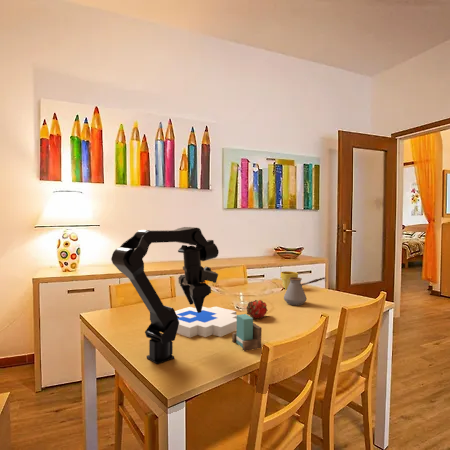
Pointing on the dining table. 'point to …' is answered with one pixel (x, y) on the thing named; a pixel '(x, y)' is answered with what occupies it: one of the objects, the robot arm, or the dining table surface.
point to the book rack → (255, 341)
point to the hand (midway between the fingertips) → (195, 308)
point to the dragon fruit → (256, 309)
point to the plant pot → (287, 277)
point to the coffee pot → (297, 291)
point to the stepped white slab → (206, 321)
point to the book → (244, 329)
